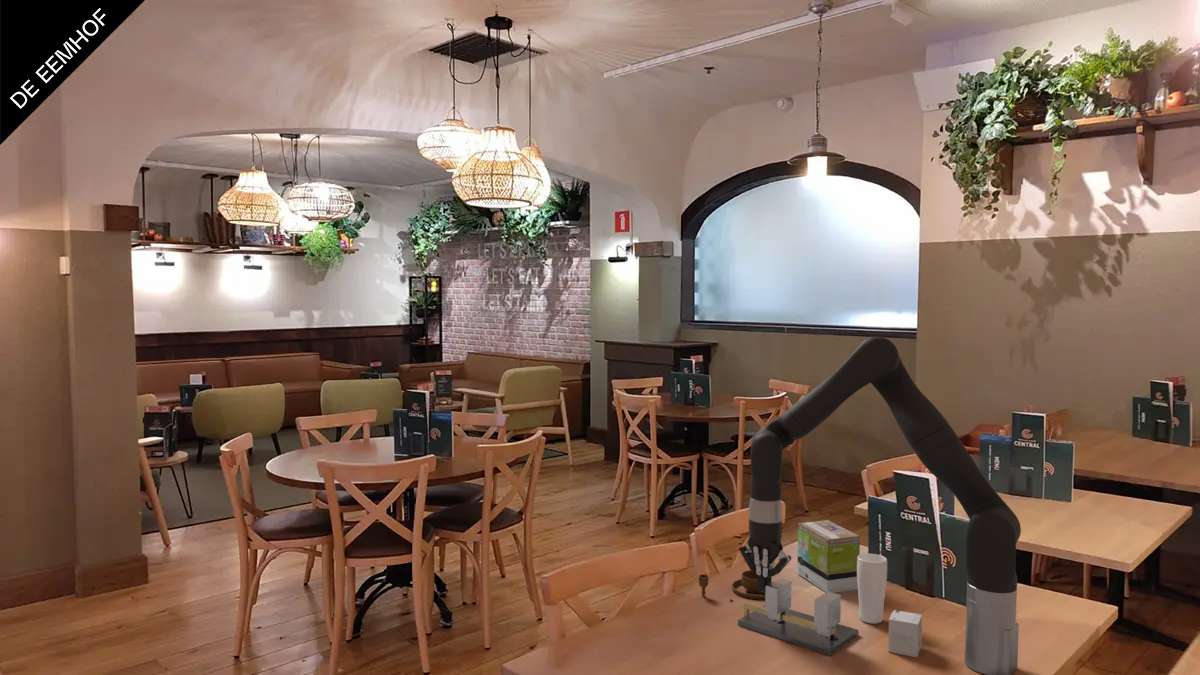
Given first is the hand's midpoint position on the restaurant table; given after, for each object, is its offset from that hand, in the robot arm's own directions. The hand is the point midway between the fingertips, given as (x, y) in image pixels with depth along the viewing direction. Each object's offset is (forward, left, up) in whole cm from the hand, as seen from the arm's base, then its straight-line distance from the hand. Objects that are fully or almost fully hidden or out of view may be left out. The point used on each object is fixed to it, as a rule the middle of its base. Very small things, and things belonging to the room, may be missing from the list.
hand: (764, 590), depth 183 cm
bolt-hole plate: (-7, -4, -8) cm, 11 cm away
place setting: (+17, -16, -9) cm, 25 cm away
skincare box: (-29, -10, -9) cm, 32 cm away
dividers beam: (-6, 0, -7) cm, 9 cm away
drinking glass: (-17, -20, -9) cm, 28 cm away
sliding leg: (-4, 0, -7) cm, 8 cm away
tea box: (+2, -36, -9) cm, 38 cm away
